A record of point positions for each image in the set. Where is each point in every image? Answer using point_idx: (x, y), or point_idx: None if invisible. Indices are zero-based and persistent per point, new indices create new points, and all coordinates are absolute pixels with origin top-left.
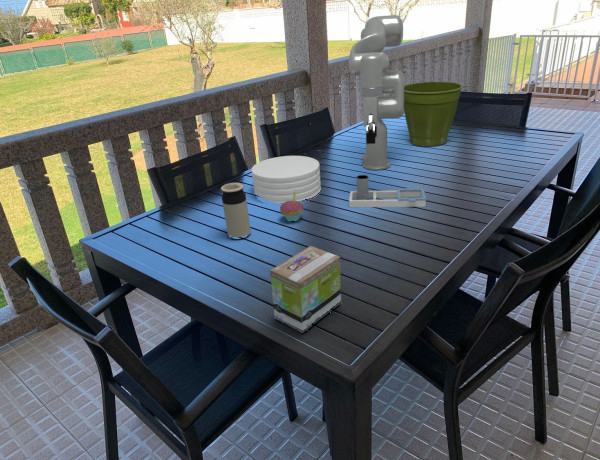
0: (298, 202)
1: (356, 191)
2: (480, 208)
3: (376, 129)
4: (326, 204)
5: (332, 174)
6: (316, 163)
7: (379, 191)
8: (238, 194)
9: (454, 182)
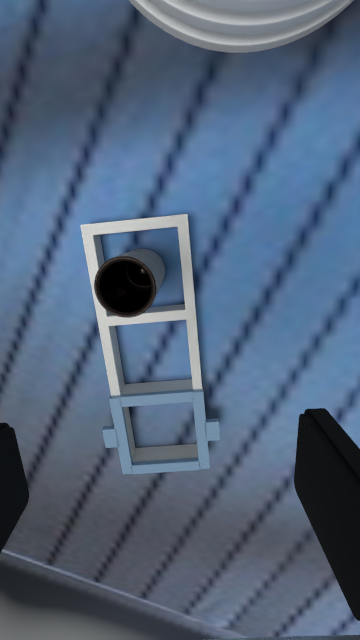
0: None
1: (186, 241)
2: (133, 562)
3: (344, 578)
4: (102, 120)
5: None
6: None
7: (190, 331)
8: None
9: None
